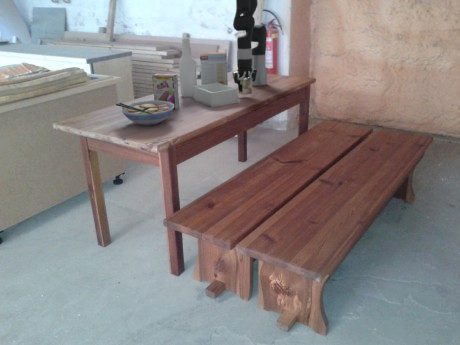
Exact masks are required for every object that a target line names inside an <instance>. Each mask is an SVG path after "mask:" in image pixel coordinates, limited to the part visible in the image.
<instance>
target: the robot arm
mask: <svg viewBox="0 0 460 345" xmlns="http://www.w3.org/2000/svg"><path fill="white" fill-rule="evenodd" d="M235 3H236V4H235V8H236V9H235V14H234V18H233V22H232V26H233V29H234V30H235V31H237V32H244V31H245V34H243V35H240V36H238V37H237V40H236V42H237V44H236V46H237V50H236V59H237V60H236V65H237V66H236V67H237V71H233V72H232V78H233V82H234V84H237V86H238V87H237V89H238V92H239V91H240V92H242V81H243V80H244V79H249V80H252V87H257V86H258V87H260V86H261V87H262V86H265V85H267V84H268V80H267V79H268V68H267V67H266V50H267V36H268V35H267V31H268V30H267V26H265V25H264V24H256V21H255V20H256V19H255V18H254V15H255V12H256V10H257V7H258V6H259V5H258V4H259V2H258V0H236V1H235ZM252 43H258V44H257V46H255V47H253V48H252Z"/></svg>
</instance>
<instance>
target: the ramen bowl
mask: <svg viewBox="0 0 460 345" xmlns="http://www.w3.org/2000/svg"><path fill="white" fill-rule="evenodd" d="M115 106H118V107H121V109H120V111H121V113H122V114H123V115H124V116H125V118H127V119H128V120H129V121H131V122H133V123H135V124H139V125H141V126H155V125H157V124H159V123H161V122H163V121H165V120H166V119H167V118H169V117H170V115H171V114H172V113H173V111H174V110H173V109H174V104H173V103H171V102H167V101H154V99H153V100H152V99H151V100H142V101H135V102H130V103H128V104H125V103H121V102H120V103H119V102H118V103H116V104H115Z"/></svg>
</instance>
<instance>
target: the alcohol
mask: <svg viewBox="0 0 460 345" xmlns="http://www.w3.org/2000/svg"><path fill="white" fill-rule="evenodd" d="M181 41H182V45H181V46H182V48H181V49H182V52H181V53H182V54H181V57H180V59H179V60H178V71H179V86H180V87H179V88H180V95H181V97H182V98H193V86H198V82H197V81H198V78H197V63H196V60H195V58H194V57H193V55H192V49H191V40H190V37H182V38H181Z"/></svg>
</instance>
